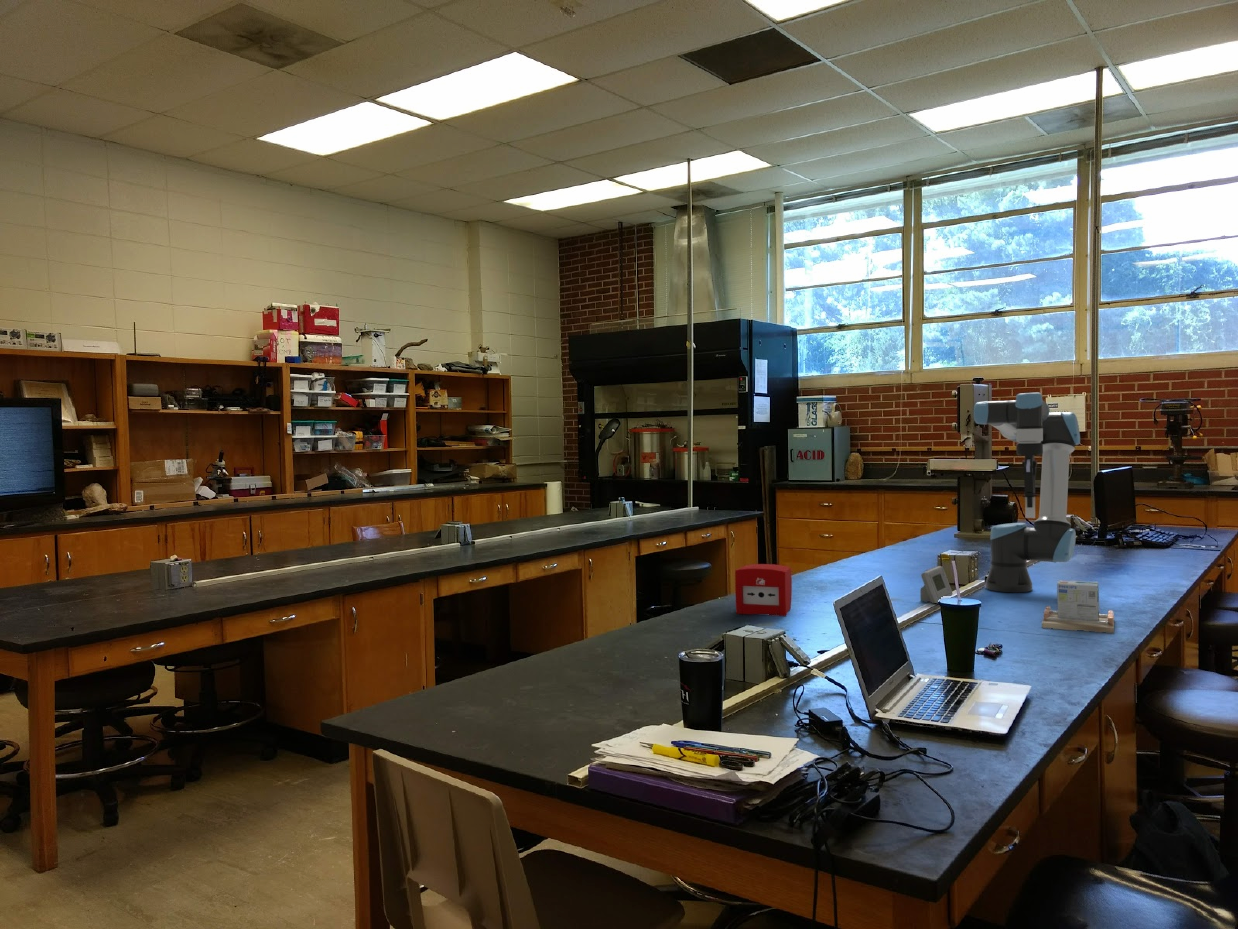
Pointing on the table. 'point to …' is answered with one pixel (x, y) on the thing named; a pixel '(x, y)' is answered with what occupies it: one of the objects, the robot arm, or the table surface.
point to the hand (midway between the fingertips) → (1030, 517)
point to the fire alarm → (763, 589)
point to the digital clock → (935, 585)
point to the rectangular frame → (1048, 612)
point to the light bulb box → (1078, 600)
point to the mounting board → (1078, 625)
